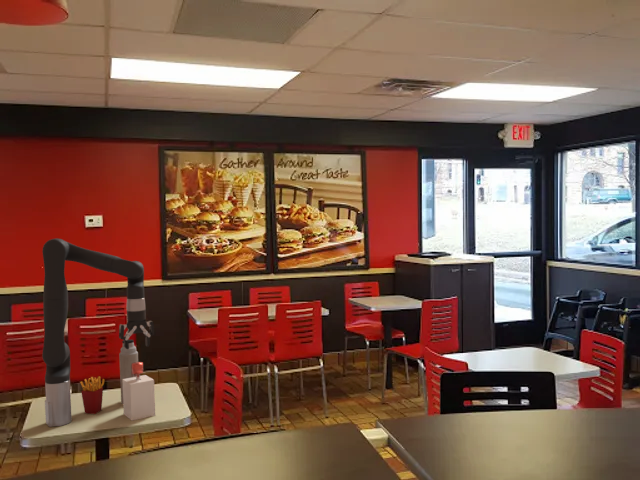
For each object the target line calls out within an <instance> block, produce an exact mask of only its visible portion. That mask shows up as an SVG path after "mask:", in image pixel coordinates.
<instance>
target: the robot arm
mask: <svg viewBox="0 0 640 480" xmlns="http://www.w3.org/2000/svg"><path fill="white" fill-rule="evenodd" d="M42 258H43V259H42V260H43V267H44V280H43V295H42V296H43V297H42V298H43V299H42V300H43V301H42V302H43V303H42V308H43V310H42V312H43V327H44V335H43V336H44V337H43V346H42V353H41V355H42V360H43V362H44V364H45V365H46V366H45V367H46V368H45V369H46V370H45V376H44V383H45V385H44V387H45V400H44V410H45V411H44V412H45V414H44V415H45V423H46V425H47V426H48V427H60V426H65V425H68V424H70V423H71V422H72V399H71V377H70V376H71V351H70V347H69V345H68V344H67V343H66V342H65V341H66V340H65V328H66V323H67V318H68V313H69V292H68V291H69V290H68V287H67V281H66V278H65V277H66V276H65V275H66V273H65V268H66V261H68V262H75V263H78V264H82V265H85V266H88V267H91V268H94V269H97V270H100V271H103V272H108V273H112V274H116V275H119V276H122V277H125V278H127V279H126V280H127V286H126V323H125V324H122V323H120V324H119V326H118V338H119V339H120V340H122V341H123V340H124V347H125V348H126V349H129V340H130V337H131V336H132V335H135V334H142V333H143V334H144V336H145V338H144V339H145V340H144V341H145V342H144V343H145V346H146V347H149V346H150V345H151V337H152V336H154V335H156V334H155V324H154V321H152V320H148V321H147V319H146V318H147V317H146V316H147V315H146V299H145V285H144V284H145V283H144V282H145V267H144V264H143V263H142V262H140V261H139V260H138V261H137V260H132V261H131V260H127V259H124V258H121V257H120V256H116V255H113V254H109V253H104V252H101V251H96V250H91V249H88V248H84V247H80V246H79V245H78V246H77V245H76V244H73V243H71V242H68V241H66V240H64V239H62V238H52V239H49V240H47V241H46V242H45V243H44V244H43V247H42ZM146 327H149V328H148V330H147V329H146ZM126 328H127V329H128V330H127V331H126V333H125V330H126ZM148 331H149V332H148Z"/></svg>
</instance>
